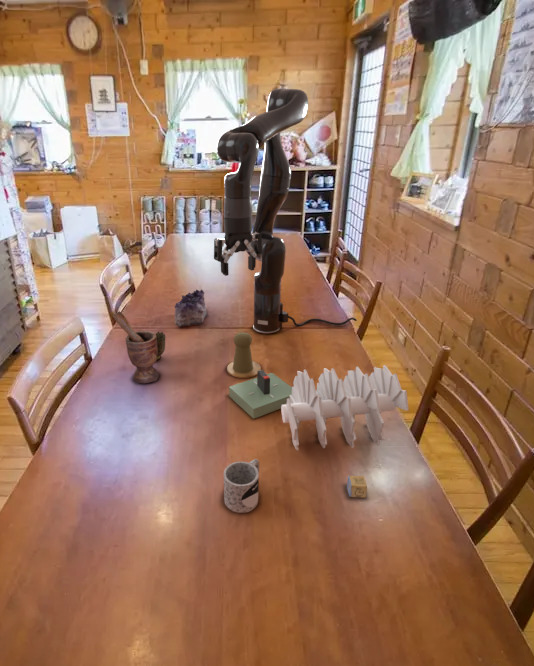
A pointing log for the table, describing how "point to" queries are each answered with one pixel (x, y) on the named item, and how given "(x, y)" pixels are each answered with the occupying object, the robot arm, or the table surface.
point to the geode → (191, 309)
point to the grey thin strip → (241, 486)
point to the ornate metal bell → (160, 344)
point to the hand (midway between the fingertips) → (238, 272)
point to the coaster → (244, 375)
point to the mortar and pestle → (140, 350)
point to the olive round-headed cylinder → (242, 353)
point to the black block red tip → (263, 382)
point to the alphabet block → (356, 486)
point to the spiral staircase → (344, 401)
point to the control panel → (260, 396)
